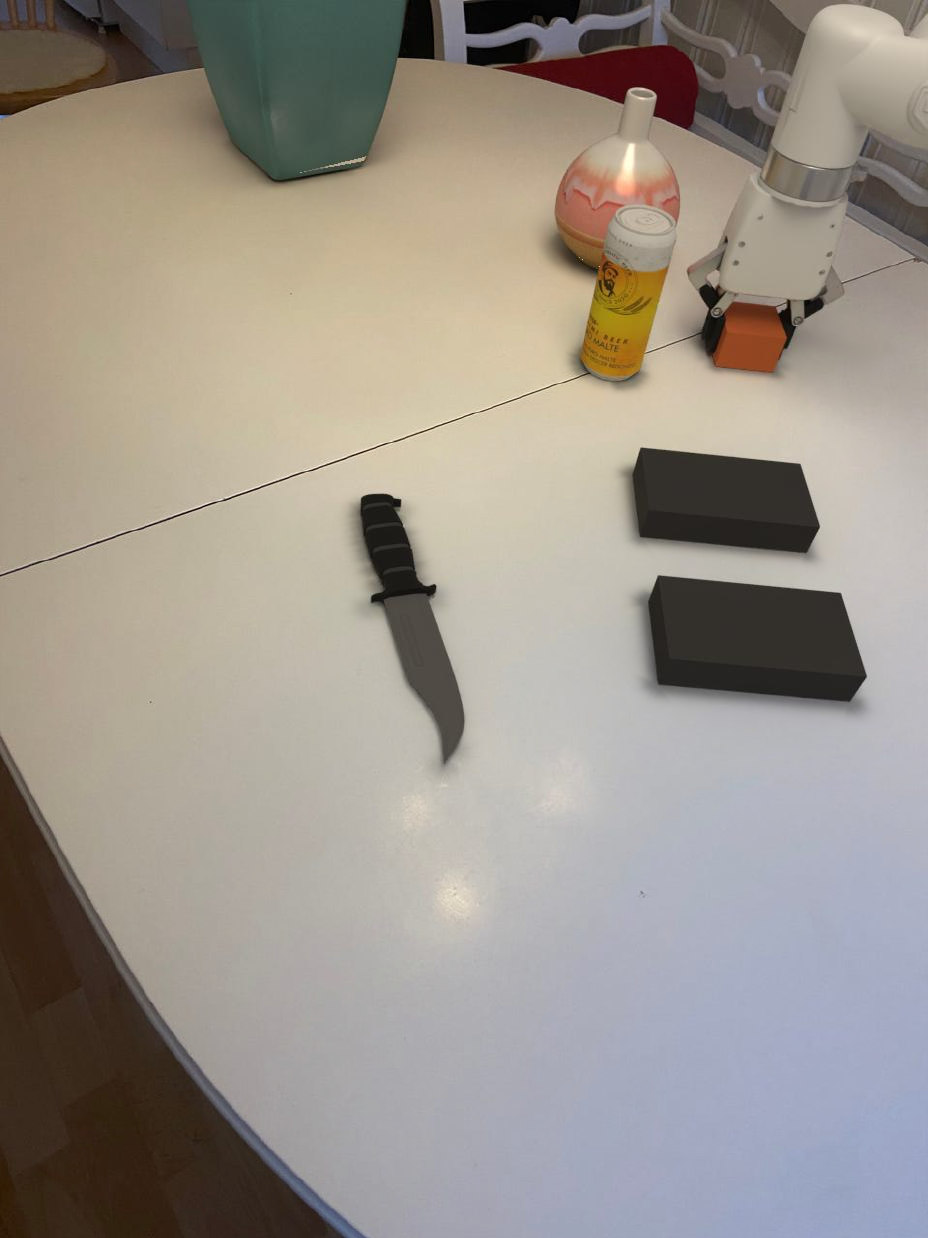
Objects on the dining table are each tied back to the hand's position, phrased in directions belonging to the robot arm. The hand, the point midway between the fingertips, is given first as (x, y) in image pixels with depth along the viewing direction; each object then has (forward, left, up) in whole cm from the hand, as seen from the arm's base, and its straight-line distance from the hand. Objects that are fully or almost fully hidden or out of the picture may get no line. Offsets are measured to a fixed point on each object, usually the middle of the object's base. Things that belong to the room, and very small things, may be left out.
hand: (741, 347), depth 96 cm
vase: (+13, -17, -1) cm, 21 cm away
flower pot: (+51, -35, -1) cm, 62 cm away
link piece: (0, 0, -1) cm, 1 cm away
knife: (+31, +41, -1) cm, 51 cm away
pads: (+6, +33, -1) cm, 34 cm away
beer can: (+14, +5, -1) cm, 15 cm away
